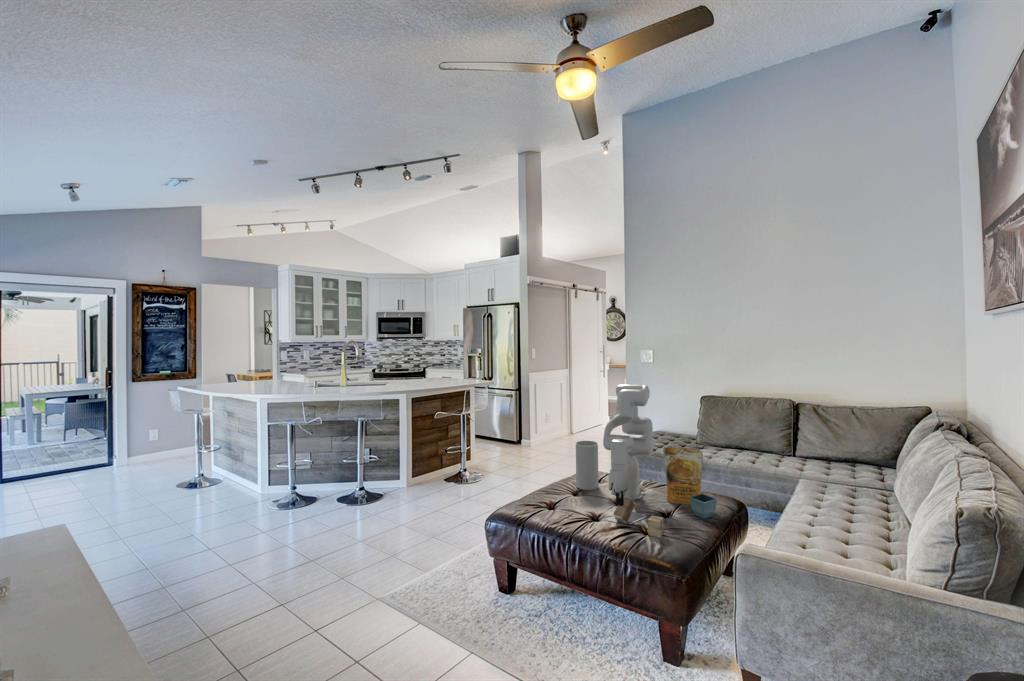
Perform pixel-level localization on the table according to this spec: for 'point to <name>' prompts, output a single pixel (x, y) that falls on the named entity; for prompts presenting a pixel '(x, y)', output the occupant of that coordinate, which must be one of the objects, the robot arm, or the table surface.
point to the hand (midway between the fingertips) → (619, 504)
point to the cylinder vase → (587, 465)
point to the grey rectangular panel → (635, 518)
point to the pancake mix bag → (682, 474)
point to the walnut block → (624, 510)
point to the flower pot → (703, 505)
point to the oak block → (655, 526)
